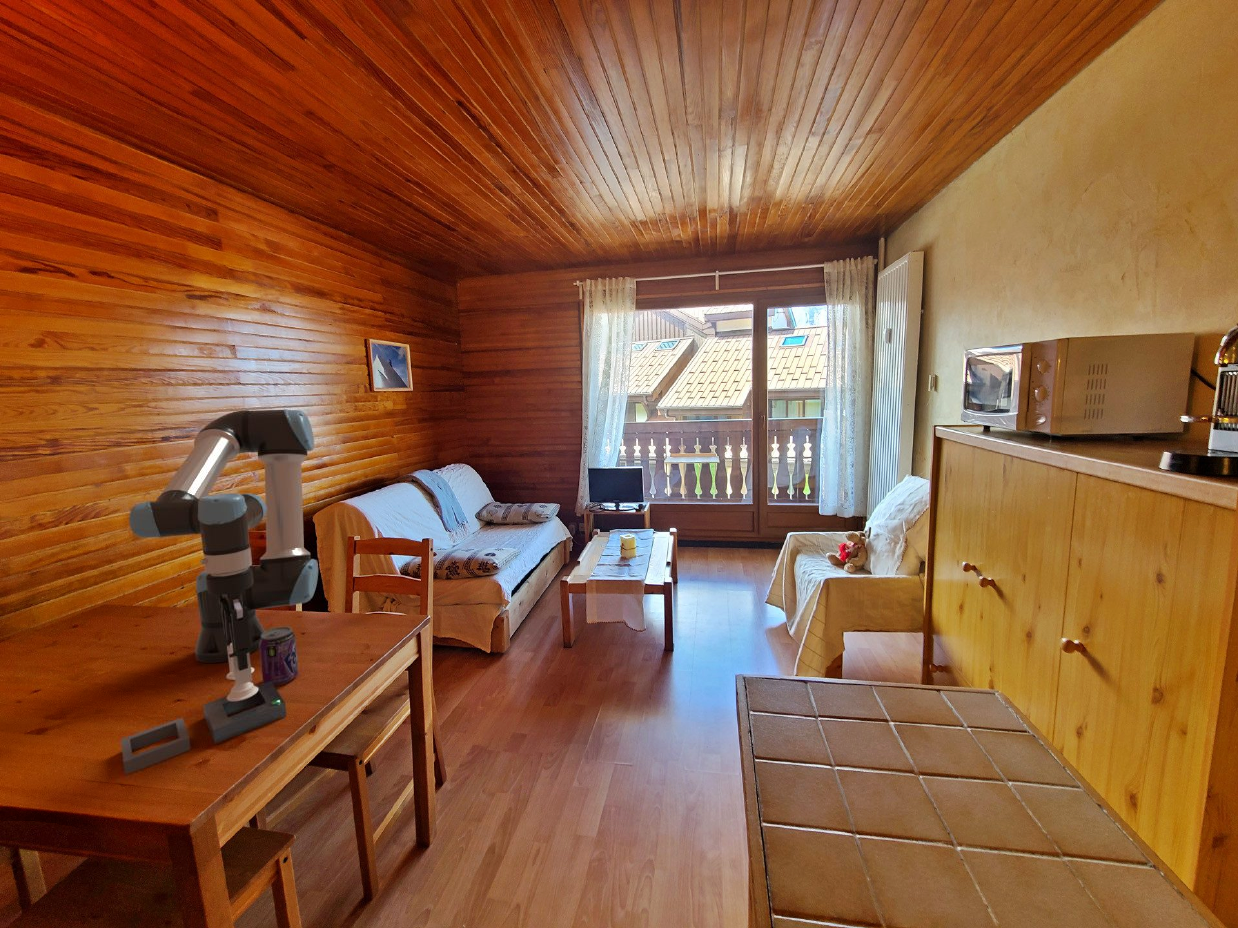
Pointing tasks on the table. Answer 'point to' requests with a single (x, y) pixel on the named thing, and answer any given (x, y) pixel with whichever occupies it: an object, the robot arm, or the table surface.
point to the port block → (243, 713)
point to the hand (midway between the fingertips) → (241, 677)
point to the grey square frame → (157, 752)
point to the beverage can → (278, 655)
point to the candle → (240, 686)
